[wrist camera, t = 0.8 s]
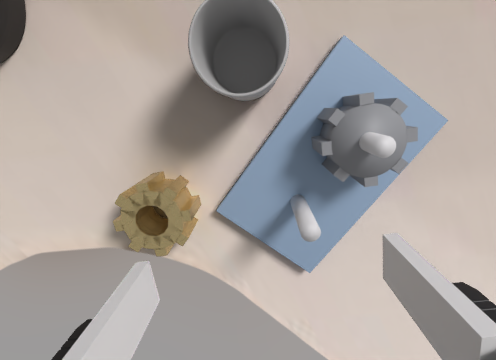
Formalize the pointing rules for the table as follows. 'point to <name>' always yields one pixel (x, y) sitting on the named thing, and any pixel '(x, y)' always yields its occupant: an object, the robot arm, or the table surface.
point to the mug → (239, 46)
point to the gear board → (305, 166)
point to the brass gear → (149, 222)
